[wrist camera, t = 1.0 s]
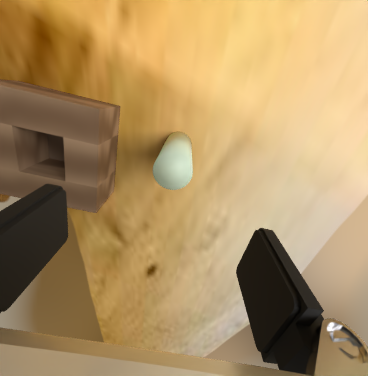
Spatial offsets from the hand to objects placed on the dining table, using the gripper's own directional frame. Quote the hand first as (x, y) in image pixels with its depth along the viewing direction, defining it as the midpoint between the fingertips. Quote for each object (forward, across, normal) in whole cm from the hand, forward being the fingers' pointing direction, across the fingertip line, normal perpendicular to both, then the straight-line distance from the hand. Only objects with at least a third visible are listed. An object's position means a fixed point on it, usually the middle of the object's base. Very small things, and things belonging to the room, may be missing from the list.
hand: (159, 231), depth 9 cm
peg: (+18, 0, 0) cm, 18 cm away
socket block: (+18, +14, +3) cm, 23 cm away
